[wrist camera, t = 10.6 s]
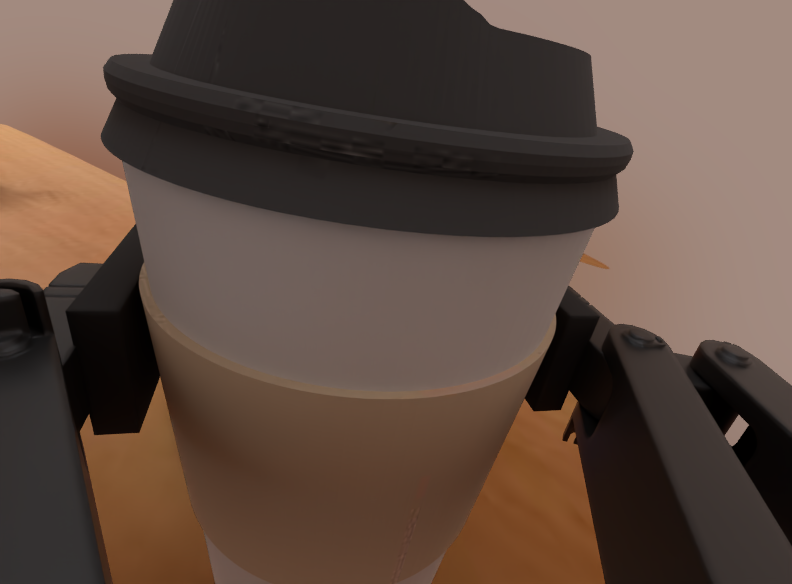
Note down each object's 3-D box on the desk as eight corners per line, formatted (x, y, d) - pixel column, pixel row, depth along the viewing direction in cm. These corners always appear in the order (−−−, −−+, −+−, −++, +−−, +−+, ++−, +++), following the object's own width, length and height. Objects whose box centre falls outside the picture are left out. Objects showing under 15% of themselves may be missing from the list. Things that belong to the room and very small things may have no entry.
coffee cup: (262, 414, 19) (266, 0, 12) (471, 470, 18) (606, 54, 11) (92, 660, 11) (-187, -153, 4) (451, 787, 10) (902, -11, 3)
